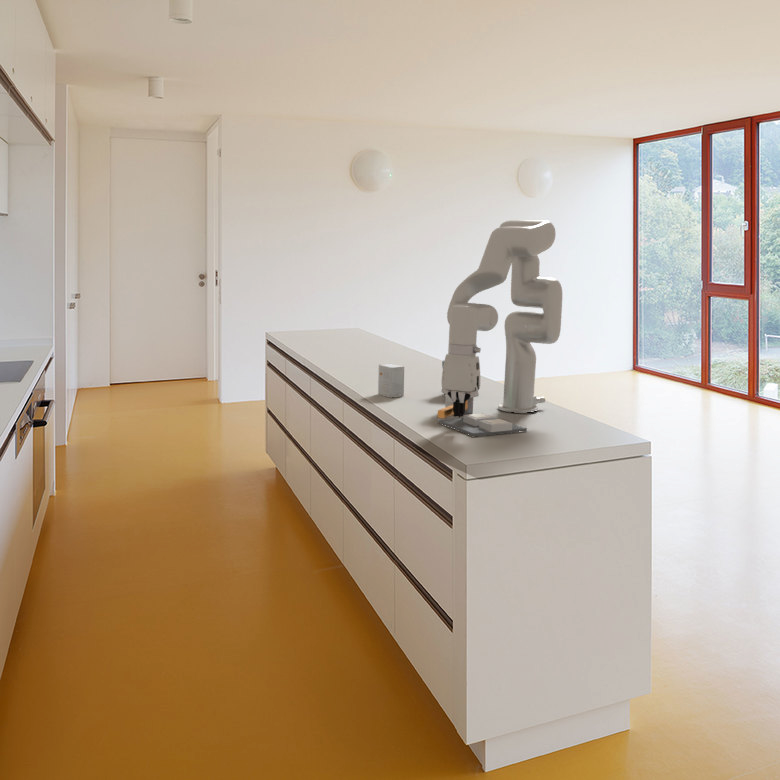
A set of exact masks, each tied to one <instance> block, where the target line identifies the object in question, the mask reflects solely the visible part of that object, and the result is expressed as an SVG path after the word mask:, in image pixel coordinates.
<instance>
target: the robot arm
mask: <svg viewBox="0 0 780 780" xmlns="http://www.w3.org/2000/svg"><path fill="white" fill-rule="evenodd" d="M556 234H557V233H556V228H555V226H554V223H552V222H551V221H549V220H546V219H545V220H541V219H540V220H539V219H538V220H536V219H535V220H534V219H532V220H530V219H528V220H526V219H513V220H512V219H511V220H506V221H504V222H502V223H501V224H500V225H499V227H496V228H495V229H494V230H493V231H492V232H491V234H490V235H489V238H488V241H487V243H486V247H485V250H484V251H483V253H482V254H483V256H482V258H481V261H480V263H479V266H478V268H477V269H476V270H475V271H474V272H472V273H471V274H469V275H468V276H467V277H466V278H465V279H463V280H462V282H460V284H458V286H457V287H456V288H455V290H454V292H453V294H452V295H451V299H450V302H449V305H448V309H447V312H446V319H447V323H448V324H449V329H448V330H449V331H448V346H447V347H448V348H447V351H448V352H447V353H446V354H445V358H444V360H445V361H444V360H443V361H444V365H443V367H442V373H441V393H442V394H443V395H444V394H447V395H449V397H450V398H451V399H452V402H453V413H454V415H453V416H454V417H457V418H462V416H463V414H464V413H465V402H466V401H467V400H468V399H469V398H472V397H473V398H477V397H479V394H480V393H479V391H480V388H481V365H480V357H479V356H478V355H477V354H478V353H481V350H482V349H481V347H478V345H477V335H478V332H488V331H491V330H492V329H494V328H495V327H496V325H497V324H498V321H499V313H498V311H497V309H496V308H495V307H494V306H492V305H491V304H487V303H486V304H485V303H477V302H469V301H470V300H471V299H472V298H473V297H474V296H476V295H477V294H479V293H481V292H483V291H485V290H489V289H491V288H494V287H497V286H499V285H501V284H503V283H504V282H505V281H506V280H507V277H508V274H509V271H510V269H511V275H510V276H511V280H510V281H511V282H510V299H511V302H512V304H513V305H515V306H517V307H519V308H520V307H523V308H533V309H542V311H543V312H536V311H525V310H516V311H513V312H511V313H509V314H508V315H507V316H506V317H505V319H504V335H505V344H506V345H505V346H506V347H505V349H506V350H505V365H504V367H505V368H504V382H503V383H504V387H503V401H502V403H499V404H498V406H497V409H498V410H500V411H503V412H505V413H506V412H507V413H511V412H514V413H515V414H526V413H525V412H531V411H535V410H537V409H538V408H539V406H537V405H538V404H544V403H545V402H546V398H545V396H539V397H537V395H535V381H536V363H537V355H536V351H535V349H534V348H533V346H532V343H534V344H542V345H544V344H546V345H551V344H555V343H557V341H558V340H559V338H560V336H561V335H560V334H561V330H562V329H561V326H562V312H563V288H562V284H561V282H560V281H559V280H558V279H557V278H553V277H547V276H546V277H544V276H540V258H539V256H538V255H539V254H542V253H544V252H545V251H547V250H548V249H550V248H551V247H552V246H553V244H554V242H555V240H556ZM459 392H461V396H460V399H459ZM471 392H472V393H471ZM538 410H539V409H538ZM514 413H513V414H514Z"/></svg>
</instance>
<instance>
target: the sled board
mask: <svg viewBox="0 0 780 780" xmlns="http://www.w3.org/2000/svg"><path fill="white" fill-rule="evenodd" d="M439 423H441V424H443V425H442V426H444V425H446V426H449V427H452V428H455V429H457V430H459V431H462V432H464V433H466V434H465V435H467V434H469V435H468V436H470V435H471V436H470V437H472V436H474V437H473V438H477V437H476V436H480V437H485V436H487V435H489V436H495V435H496V434H499V435H505V434H504V433H509V434H512V433H511V432H518V433H520V432H519V431H526V432H527V427H524V426H522V425H518V424H515V423H513V422H509V421H508V420H504V419H501V418H497V417H496V416H493V415H489V414H487V413H483V412H482V413H474V397H472V398H469V399H468V409H466V410H465V413H464V414H463V416H461V417H457V418H449V419H448V418H447V419H446V418H445V419H438V424H439ZM441 424H440V425H441ZM446 426H445V427H446ZM449 427H448V428H449ZM452 428H451V429H452ZM457 430H456V431H457ZM459 431H458V432H459ZM462 432H461V433H462ZM464 433H463V434H464ZM496 436H497V435H496ZM487 437H488V436H487Z"/></svg>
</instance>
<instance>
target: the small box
mask: <svg viewBox="0 0 780 780" xmlns="http://www.w3.org/2000/svg"><path fill="white" fill-rule="evenodd" d="M377 383H378V387H377V391H378V392H377V394H378V395H379V394H380V395H381V396H383V395H384V396H383V397H386V396H387V398H391V399H392V397H394V398H400V397H401V398H402V396H403V397H405V366H404V365H403V366H402V365H399V364H398V365H397V364H394V363H386V364H378V382H377Z"/></svg>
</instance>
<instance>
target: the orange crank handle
mask: <svg viewBox="0 0 780 780" xmlns="http://www.w3.org/2000/svg"><path fill="white" fill-rule="evenodd" d="M460 393H461V392H460ZM471 393H472V392H471ZM466 409H468V400H467V401H466V402H465V410H466ZM451 416H454V413H453V405H451V406H448V407H445V406H444V407H443V408H440V409H437V418H440V419H446V418H448V417H451Z"/></svg>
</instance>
